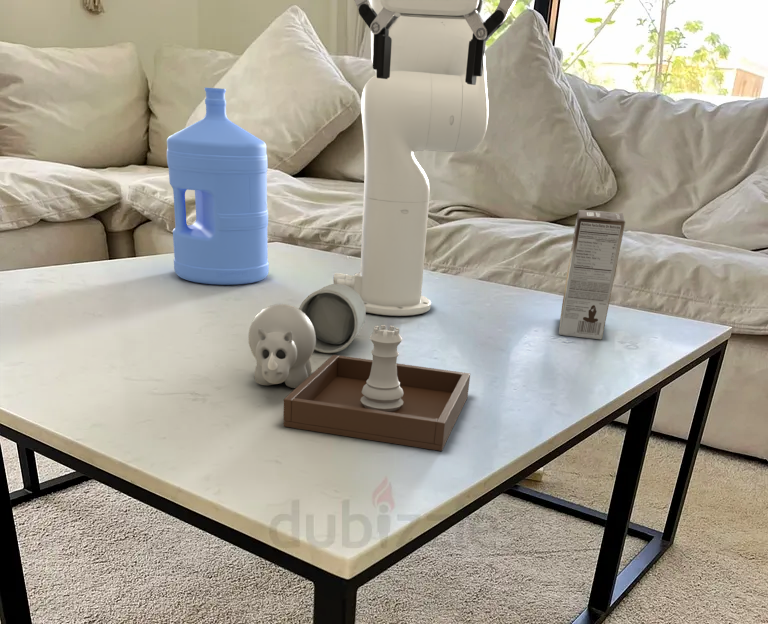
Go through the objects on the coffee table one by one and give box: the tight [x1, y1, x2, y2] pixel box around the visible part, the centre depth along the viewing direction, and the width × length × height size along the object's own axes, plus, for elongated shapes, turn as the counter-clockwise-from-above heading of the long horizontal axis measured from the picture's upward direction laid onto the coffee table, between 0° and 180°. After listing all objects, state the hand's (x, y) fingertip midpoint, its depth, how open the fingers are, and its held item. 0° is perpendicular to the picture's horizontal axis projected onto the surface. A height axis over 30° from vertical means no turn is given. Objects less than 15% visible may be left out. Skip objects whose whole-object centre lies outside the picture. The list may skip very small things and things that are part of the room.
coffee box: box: [558, 209, 626, 340], centre depth 111 cm, size 9×6×16 cm
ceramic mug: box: [298, 283, 367, 354], centre depth 99 cm, size 11×8×8 cm
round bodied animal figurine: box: [247, 303, 316, 389], centre depth 82 cm, size 7×12×8 cm, turn 177°
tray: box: [283, 354, 471, 452], centre depth 80 cm, size 16×16×3 cm
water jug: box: [166, 87, 270, 286], centre depth 125 cm, size 16×16×28 cm
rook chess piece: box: [360, 324, 404, 412], centre depth 78 cm, size 4×4×8 cm
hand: (426, 81), depth 84 cm, fingers open, 9 cm apart
